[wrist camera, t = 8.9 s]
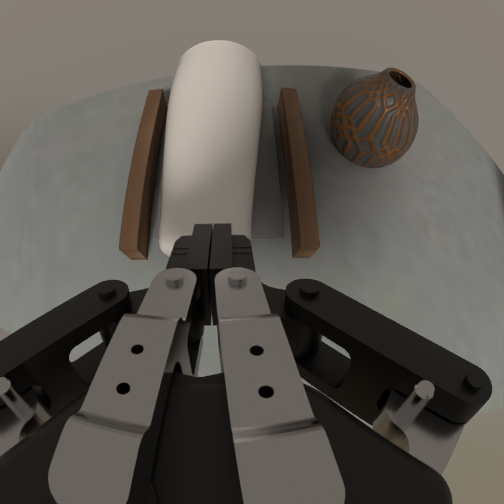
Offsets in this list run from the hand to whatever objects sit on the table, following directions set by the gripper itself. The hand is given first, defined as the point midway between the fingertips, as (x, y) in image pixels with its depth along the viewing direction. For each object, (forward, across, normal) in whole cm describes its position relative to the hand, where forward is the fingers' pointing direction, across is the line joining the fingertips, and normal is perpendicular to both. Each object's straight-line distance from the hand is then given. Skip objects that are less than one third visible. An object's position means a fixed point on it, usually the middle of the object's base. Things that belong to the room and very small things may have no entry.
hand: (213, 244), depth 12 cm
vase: (+13, -12, -3) cm, 18 cm away
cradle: (+11, 0, -1) cm, 11 cm away
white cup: (+4, +1, +3) cm, 5 cm away
